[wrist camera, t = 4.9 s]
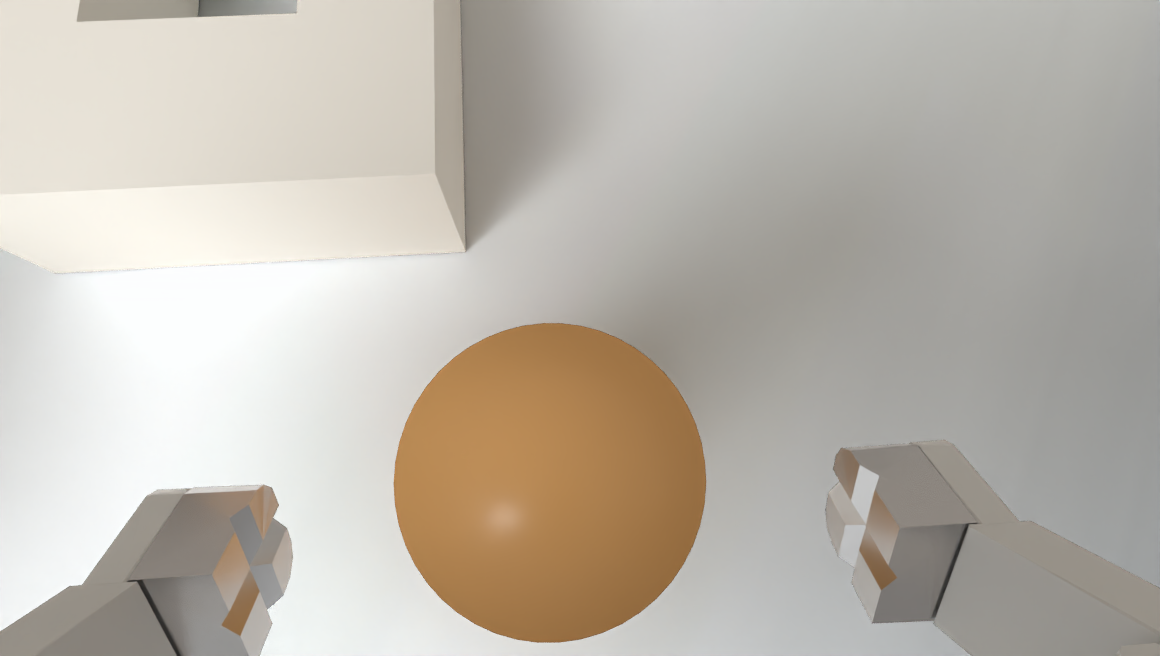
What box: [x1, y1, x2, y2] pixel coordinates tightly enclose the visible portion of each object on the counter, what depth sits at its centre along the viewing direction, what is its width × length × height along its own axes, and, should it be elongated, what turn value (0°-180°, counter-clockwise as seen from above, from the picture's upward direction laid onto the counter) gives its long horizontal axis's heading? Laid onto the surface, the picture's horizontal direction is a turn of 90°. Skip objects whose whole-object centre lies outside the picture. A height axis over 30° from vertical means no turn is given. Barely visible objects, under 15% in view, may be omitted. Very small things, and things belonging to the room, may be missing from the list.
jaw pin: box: [394, 323, 706, 642], centre depth 11 cm, size 3×3×9 cm
